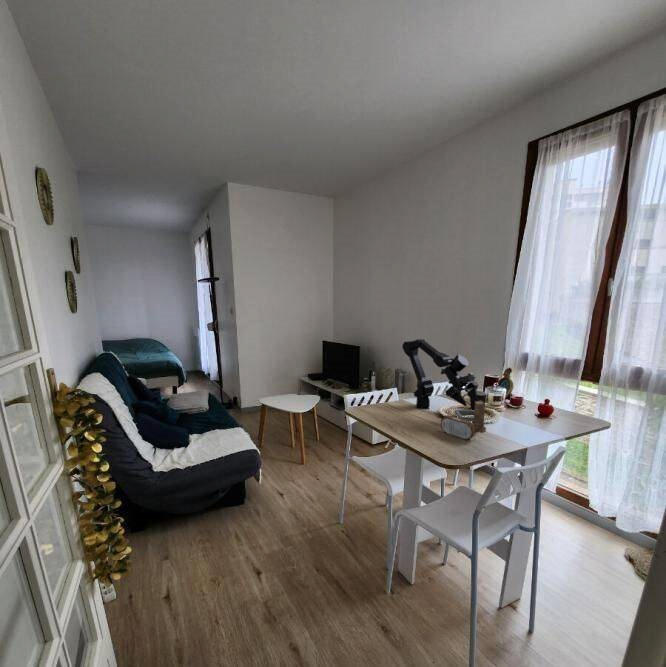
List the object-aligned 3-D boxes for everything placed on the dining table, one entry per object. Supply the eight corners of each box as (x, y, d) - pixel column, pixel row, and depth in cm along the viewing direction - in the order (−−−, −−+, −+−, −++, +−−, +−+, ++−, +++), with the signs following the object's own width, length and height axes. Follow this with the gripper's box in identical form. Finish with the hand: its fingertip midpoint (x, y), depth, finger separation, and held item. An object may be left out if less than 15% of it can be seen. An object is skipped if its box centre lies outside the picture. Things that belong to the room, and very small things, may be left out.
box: (460, 423, 158) (460, 417, 157) (455, 415, 168) (455, 409, 168) (483, 424, 156) (484, 418, 156) (476, 416, 167) (477, 410, 167)
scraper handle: (474, 431, 148) (476, 404, 147) (471, 426, 153) (472, 400, 152) (485, 431, 148) (487, 404, 146) (482, 427, 152) (483, 401, 151)
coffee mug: (486, 409, 177) (487, 392, 176) (484, 414, 170) (485, 396, 169) (464, 405, 183) (465, 388, 182) (461, 410, 176) (462, 392, 175)
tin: (475, 440, 138) (476, 422, 137) (472, 443, 136) (473, 424, 135) (442, 430, 149) (443, 412, 148) (439, 432, 147) (440, 414, 146)
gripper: (451, 370, 150) (471, 399, 142) (476, 365, 160) (495, 392, 152) (437, 382, 158) (455, 410, 150) (461, 377, 168) (479, 404, 159)
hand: (472, 404), depth 152 cm, fingers open, 9 cm apart
